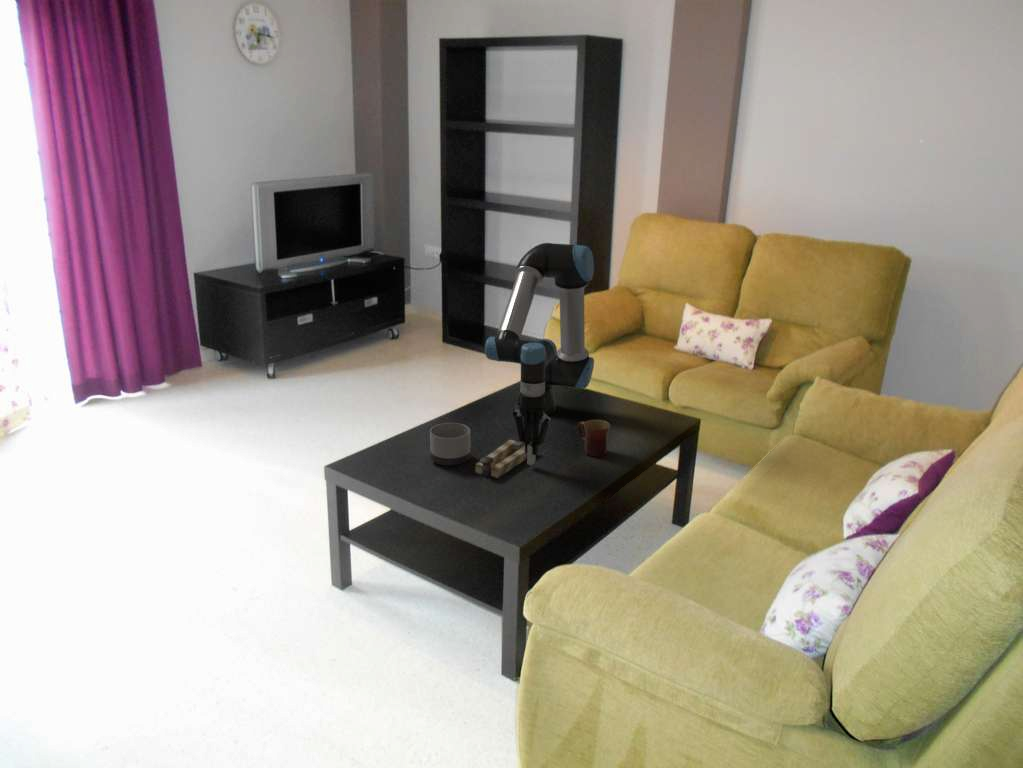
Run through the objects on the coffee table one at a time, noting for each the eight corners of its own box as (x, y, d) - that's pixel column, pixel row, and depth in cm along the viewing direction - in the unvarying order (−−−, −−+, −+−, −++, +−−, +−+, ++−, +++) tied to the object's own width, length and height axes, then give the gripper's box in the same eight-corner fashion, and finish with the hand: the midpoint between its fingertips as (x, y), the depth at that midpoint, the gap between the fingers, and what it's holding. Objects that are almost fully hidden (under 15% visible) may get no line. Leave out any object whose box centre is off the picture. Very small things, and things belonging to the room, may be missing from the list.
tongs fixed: (489, 479, 257) (489, 463, 255) (472, 475, 260) (472, 458, 258) (525, 451, 277) (526, 436, 275) (509, 447, 280) (509, 432, 278)
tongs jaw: (497, 478, 258) (497, 469, 257) (491, 476, 259) (491, 467, 258) (534, 453, 275) (535, 444, 274) (528, 451, 276) (528, 443, 275)
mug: (614, 453, 277) (615, 424, 273) (598, 461, 271) (599, 432, 267) (585, 442, 284) (586, 414, 281) (569, 450, 278) (570, 422, 275)
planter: (424, 465, 267) (423, 434, 263) (440, 449, 278) (440, 420, 275) (460, 471, 263) (460, 440, 259) (476, 455, 274) (476, 426, 271)
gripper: (508, 393, 257) (507, 462, 265) (545, 400, 251) (543, 472, 259) (520, 385, 263) (519, 454, 271) (556, 393, 257) (554, 463, 265)
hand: (531, 463), depth 265 cm, fingers closed
